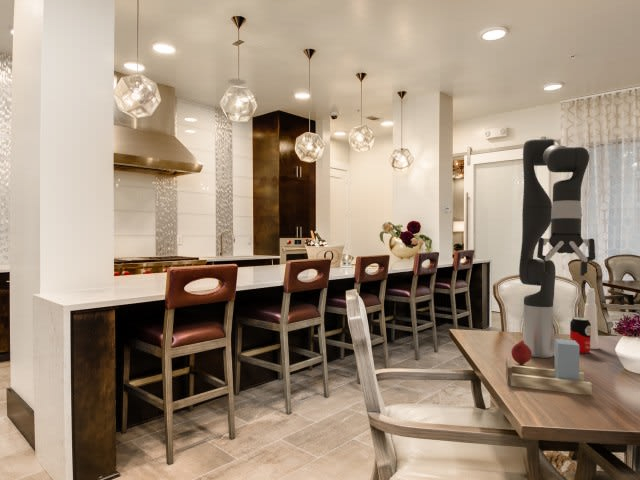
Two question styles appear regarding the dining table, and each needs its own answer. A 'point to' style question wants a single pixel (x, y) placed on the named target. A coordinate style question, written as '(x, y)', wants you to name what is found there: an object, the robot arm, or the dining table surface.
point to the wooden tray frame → (544, 379)
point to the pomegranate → (521, 353)
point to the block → (566, 359)
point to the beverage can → (581, 333)
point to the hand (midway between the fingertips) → (564, 274)
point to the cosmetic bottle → (592, 318)
